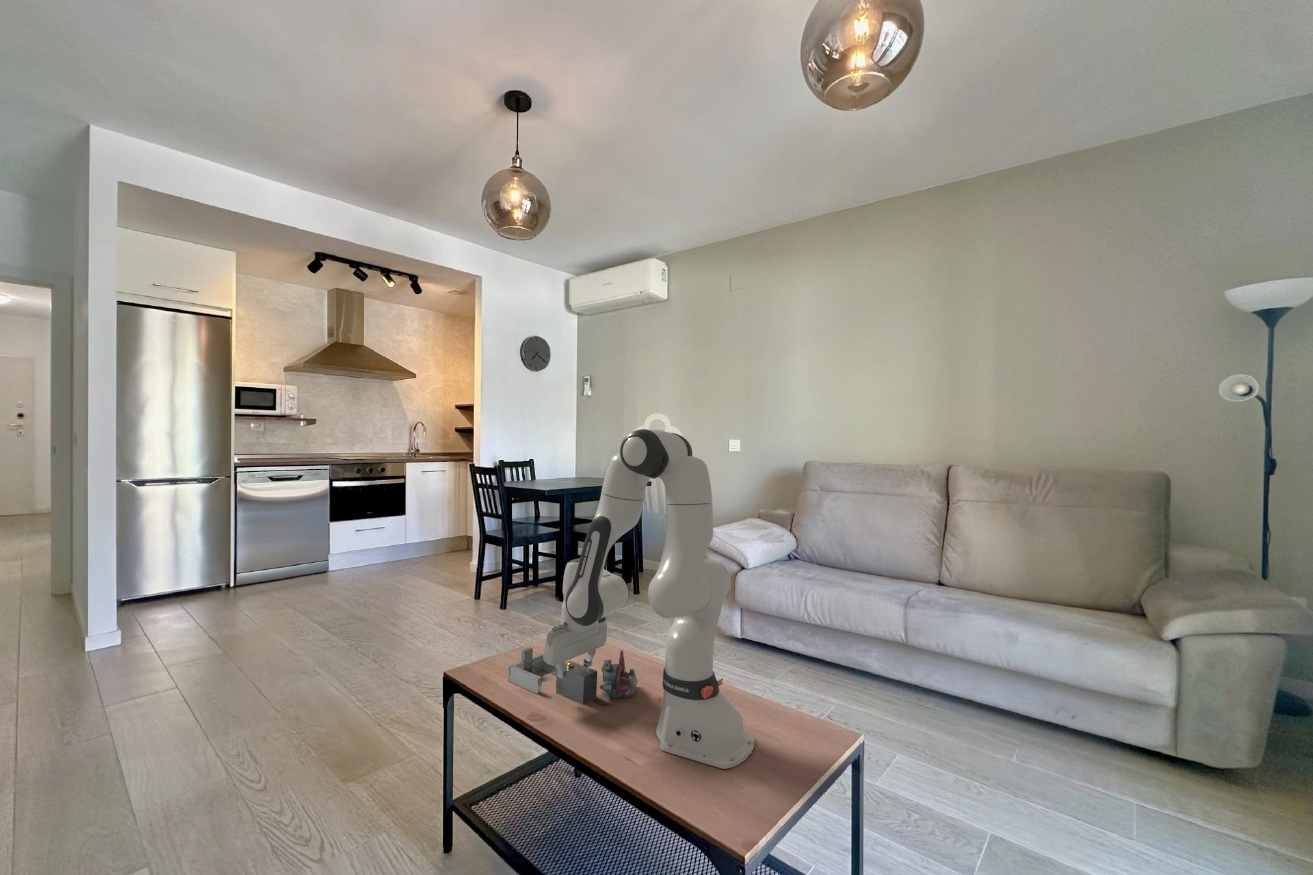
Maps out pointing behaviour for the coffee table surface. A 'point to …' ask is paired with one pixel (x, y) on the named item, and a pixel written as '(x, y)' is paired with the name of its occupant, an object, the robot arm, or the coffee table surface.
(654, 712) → the coffee table surface
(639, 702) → the coffee table surface
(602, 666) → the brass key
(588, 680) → the block
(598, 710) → the coffee table surface
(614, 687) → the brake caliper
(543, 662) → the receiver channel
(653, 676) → the coffee table surface
